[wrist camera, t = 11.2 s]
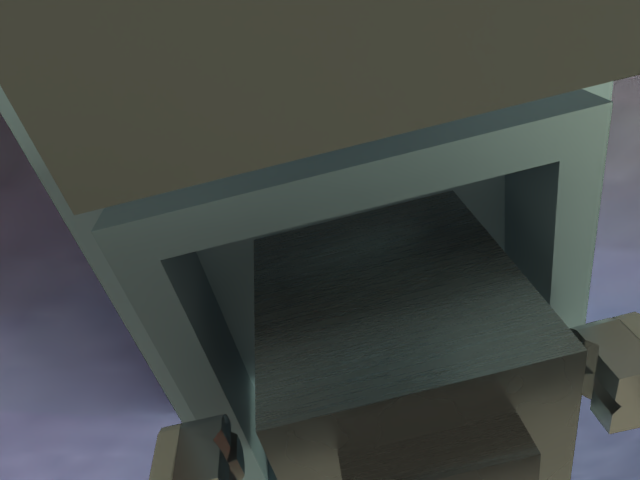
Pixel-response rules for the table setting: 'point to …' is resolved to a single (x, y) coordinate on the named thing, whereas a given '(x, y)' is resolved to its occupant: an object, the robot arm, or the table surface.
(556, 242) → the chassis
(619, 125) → the table surface
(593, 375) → the robot arm
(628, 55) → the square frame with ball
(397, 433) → the grey box
